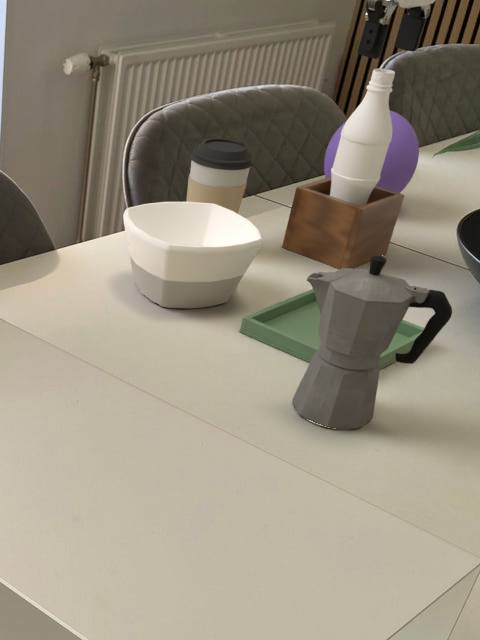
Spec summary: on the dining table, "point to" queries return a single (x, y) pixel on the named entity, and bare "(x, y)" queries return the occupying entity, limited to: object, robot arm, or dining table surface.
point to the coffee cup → (219, 173)
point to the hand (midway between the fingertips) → (387, 52)
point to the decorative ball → (388, 155)
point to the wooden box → (340, 225)
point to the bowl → (189, 252)
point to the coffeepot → (360, 340)
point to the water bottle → (364, 143)
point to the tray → (311, 329)
